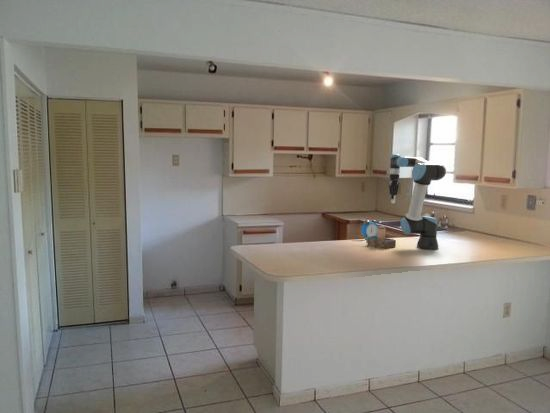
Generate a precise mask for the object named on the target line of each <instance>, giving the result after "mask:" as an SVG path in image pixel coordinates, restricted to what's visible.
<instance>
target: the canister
mask: <svg viewBox="0 0 550 413" xmlns="http://www.w3.org/2000/svg"><path fill="white" fill-rule="evenodd" d="M377 226H378V233H377V240H383V241H385V238H386V226H383V225H380V226H379V225H377Z"/></svg>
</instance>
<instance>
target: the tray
mask: <svg viewBox="0 0 550 413" xmlns="http://www.w3.org/2000/svg"><path fill="white" fill-rule="evenodd" d="M365 238H366V240H365V242H366V243H368V239H371V240H377V235H373V236H368V237H365ZM393 240H395V239H394V238H389V237H385V241H383V240H377V241H382V242H388V241H393Z"/></svg>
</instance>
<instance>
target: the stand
mask: <svg viewBox="0 0 550 413" xmlns="http://www.w3.org/2000/svg"><path fill="white" fill-rule="evenodd" d="M396 243H397V240H396V239H394V240H393V241H388V242H382V241H377V240H371V239H368V243H367V247H373V248H378V249H383V250H387V249H388V250H389V249H392V248H396V247H397V246H396V245H397V244H396Z"/></svg>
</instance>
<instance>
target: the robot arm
mask: <svg viewBox="0 0 550 413" xmlns="http://www.w3.org/2000/svg"><path fill="white" fill-rule="evenodd" d="M389 163H390V164H389V179H390V181H389V182H388V183H387V184H388V188H389V189H388V190H389V195H390V196H391V201H390V204H396V196H397V195H398V192H399V187H400V186H399V185H400V182H399V179H400V172H401V171H400V170H401V169H400V168H412V170H411V179H412V181H413V182H414V187H413V190H412V194H411V199H410V204H409V206H408V208H409V209H408V212H407V213H405V216H404V217H402V218H401V220H400V230H401V231H402V232H403V233H404V234H405V235H412V234H413V235H414V234H415V235H417V234H419V238H418V241H417V243H416V247H417V248H419V249H423V250H437V249H439V242H438V237H437V236H438V234H437V233H438V224H439V223H438V218H436V217H432V216H427V215H421V214H422V209H423V206H424V202H425V198H426V194H427V190H428V186H430V185H431V184H432V181H440V180H442V179H443V178H445V176H446V173H447V169H446V167H445V166H444V165H443V164H440V163H438V162H437V163H433V162H431V161H428V160H425V159H424V157H418V156H417V157H416V156H415V157H413V156H412V157H411V156H401V155H400V154H391V155H390V161H389Z"/></svg>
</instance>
